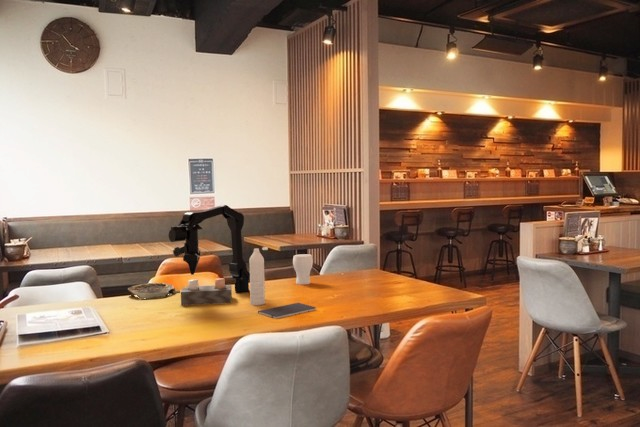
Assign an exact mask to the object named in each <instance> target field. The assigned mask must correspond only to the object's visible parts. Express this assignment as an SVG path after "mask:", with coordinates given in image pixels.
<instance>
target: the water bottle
mask: <svg viewBox="0 0 640 427" xmlns="http://www.w3.org/2000/svg"><path fill="white" fill-rule="evenodd" d="M261 249H262V251H268V249H269V247H268V246H267V247H266V246H265V247H264V246H263V247H261ZM248 260H249V261H248V262H249V273H250V280H249V293H250V298H249V299H250V302H249V303H250V305H251V306H262V305H265V304H266V291H265V288H266V286H265V285H266V284H265V282H266V281H265V259H264V256H263V255H262V254H261V252H260V248H257V247H256V248H253V252H252V254H251V255H250V257H249V259H248Z"/></svg>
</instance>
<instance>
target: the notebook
mask: <svg viewBox="0 0 640 427" xmlns="http://www.w3.org/2000/svg"><path fill="white" fill-rule="evenodd" d="M308 311H309V312H313V311H316V307H315V306H312V305H308V304H306V303H300V302H295V303H288V304H284V305H280V306H276V307H271V308H266V309H265V308H264V309H260V310H257V314H260V315H263V316H266V317H269V318H272V319H276V320H277V319H281V318H285V317H290V316H291V317H292V316H295V314H296V315H300V314H303V313H309V312H308ZM299 313H300V314H299Z"/></svg>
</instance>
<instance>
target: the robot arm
mask: <svg viewBox="0 0 640 427" xmlns="http://www.w3.org/2000/svg"><path fill="white" fill-rule="evenodd" d="M220 215H221V216H222V218H224V219H225V220H226V221H227V222H226V223H227V226H228V228H229V230H230V236H231V237H230V238H231V248H232V250H231V251H232V259H231V260H232V261H231V262H228V267H229V269H228V272H229V273H230V275H231V276H232V279H233V280H235V281H234V292H235V293H236V294H241V293H250V271H248V267H247V263H246V262H245V260H244V258H243V257H244V255H243V239H242V238H243V236H242V229H243V227H244V224H245V216H244V214H243V213H242V212H239V211H237V210H235V209H233V208H231V207H230V206H228V205H226V204H220V205H217V206H214V207H210V208H208V209H205V210H201V211H189V212H185V213H183V216H182V219H181V221H179V224H178V225H177V226H170V230H169V232H168V239H169V241H170V242H171V243H175V242H184V241H185V242H184V244H183V245H182V246H176V247H174V249H173V250H172V254H173V255H174V257H175V258H177V257H178V256H181V255H183V254H184V255H183V257H182V261H183V262H185V263H186V264H187V265H188V267H189V272H190V275H194V274H195V272H196V270H197V268H198V267H197V266H198V264H199V261H200V259H201V256H202V251H201V250H200V248H199V244H200V241H199V230H203V228H202V226H200V224H201V223H203V222H204V221H205V220H207V219H210V218H211V219H212V218H214V217H217V216H220Z"/></svg>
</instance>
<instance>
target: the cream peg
mask: <svg viewBox="0 0 640 427" xmlns="http://www.w3.org/2000/svg"><path fill="white" fill-rule="evenodd" d="M187 284H188V286H187V287H188V288H189V290H198V286H199V279H196V278H195V279H189V280H187Z"/></svg>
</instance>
